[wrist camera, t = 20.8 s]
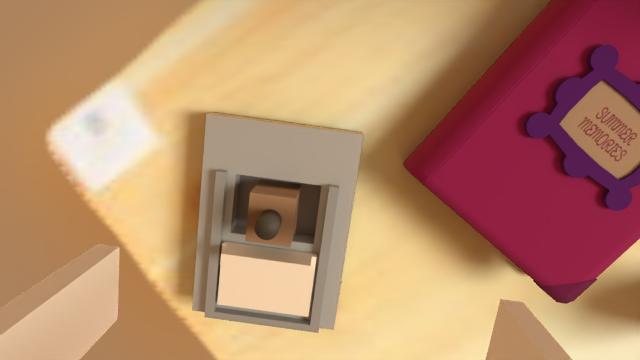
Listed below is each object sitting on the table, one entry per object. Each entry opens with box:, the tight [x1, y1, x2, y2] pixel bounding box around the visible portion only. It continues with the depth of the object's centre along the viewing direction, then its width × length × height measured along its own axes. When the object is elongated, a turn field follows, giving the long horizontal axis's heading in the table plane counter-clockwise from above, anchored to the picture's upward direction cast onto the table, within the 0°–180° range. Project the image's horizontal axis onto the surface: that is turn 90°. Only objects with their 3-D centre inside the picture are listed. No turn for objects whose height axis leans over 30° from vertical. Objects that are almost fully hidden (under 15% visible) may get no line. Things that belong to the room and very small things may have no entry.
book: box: [403, 0, 640, 303], centre depth 41 cm, size 21×28×8 cm
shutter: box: [217, 242, 317, 317], centre depth 44 cm, size 7×10×3 cm
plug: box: [245, 179, 301, 247], centre depth 43 cm, size 5×4×8 cm
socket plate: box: [192, 112, 364, 333], centre depth 46 cm, size 22×16×4 cm
